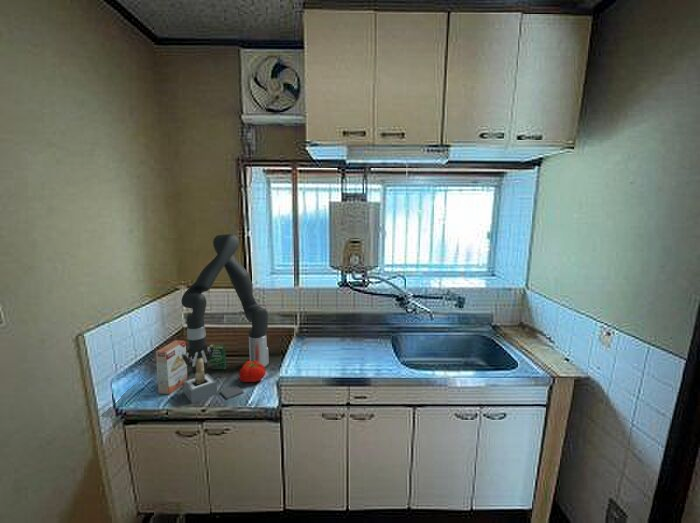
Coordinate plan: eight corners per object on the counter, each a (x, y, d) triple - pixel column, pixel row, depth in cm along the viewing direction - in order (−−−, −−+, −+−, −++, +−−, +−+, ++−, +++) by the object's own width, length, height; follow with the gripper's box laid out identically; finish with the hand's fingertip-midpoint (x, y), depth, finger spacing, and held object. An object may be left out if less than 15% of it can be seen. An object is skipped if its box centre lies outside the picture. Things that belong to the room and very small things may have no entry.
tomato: (258, 388, 159) (257, 371, 157) (234, 385, 161) (233, 368, 160) (270, 374, 172) (270, 358, 171) (248, 372, 175) (248, 356, 173)
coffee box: (209, 369, 177) (208, 346, 175) (211, 366, 180) (210, 344, 178) (224, 369, 177) (223, 346, 175) (226, 367, 180) (225, 344, 177)
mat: (236, 386, 160) (236, 384, 160) (243, 392, 155) (243, 391, 155) (219, 392, 155) (219, 390, 155) (227, 399, 149) (227, 397, 149)
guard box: (207, 384, 161) (207, 373, 161) (217, 394, 154) (216, 382, 153) (183, 393, 154) (183, 381, 153) (192, 403, 146) (191, 390, 145)
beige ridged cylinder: (203, 378, 156) (201, 354, 154) (206, 381, 153) (204, 357, 151) (194, 381, 153) (192, 357, 151) (197, 385, 150) (195, 360, 148)
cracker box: (170, 395, 152) (166, 352, 149) (158, 394, 153) (154, 351, 150) (188, 379, 166) (186, 340, 163) (177, 378, 167) (174, 339, 164)
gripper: (209, 329, 157) (211, 363, 160) (177, 337, 147) (180, 373, 150) (215, 334, 151) (218, 369, 154) (182, 342, 142) (186, 380, 145)
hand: (199, 371), depth 152 cm, fingers closed on beige ridged cylinder, 4 cm apart
